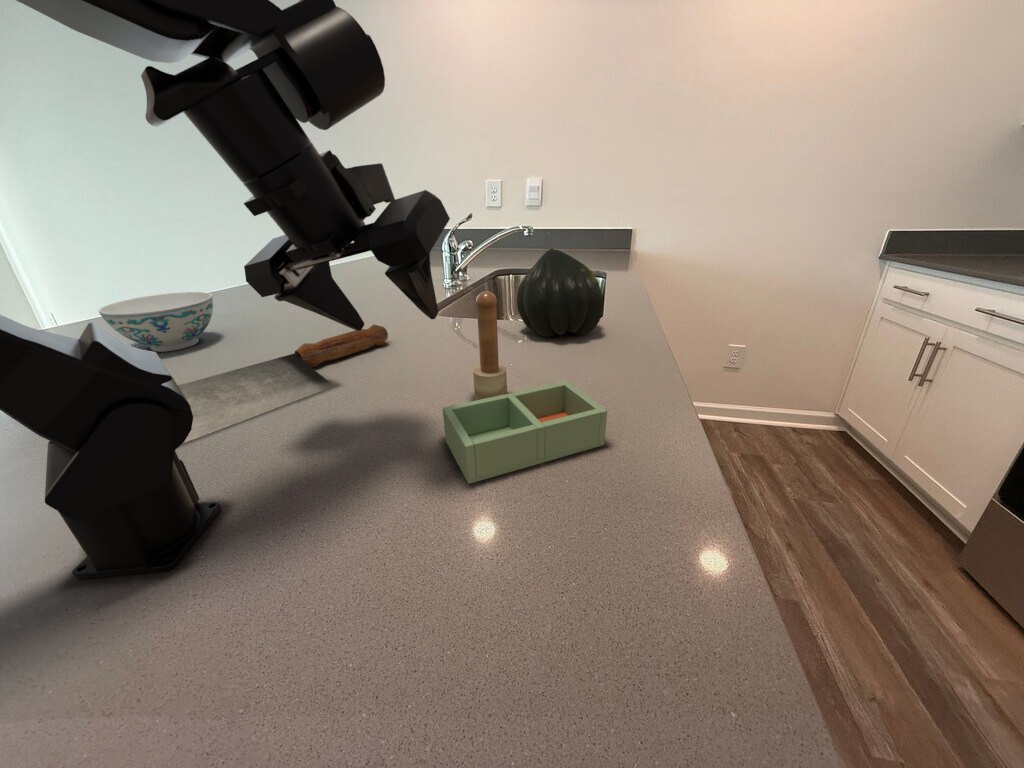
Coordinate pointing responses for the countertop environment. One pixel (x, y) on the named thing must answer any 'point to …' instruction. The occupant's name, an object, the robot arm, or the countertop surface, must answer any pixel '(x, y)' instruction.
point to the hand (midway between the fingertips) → (396, 322)
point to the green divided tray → (522, 429)
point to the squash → (559, 296)
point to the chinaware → (161, 319)
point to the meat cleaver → (269, 382)
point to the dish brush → (488, 351)
